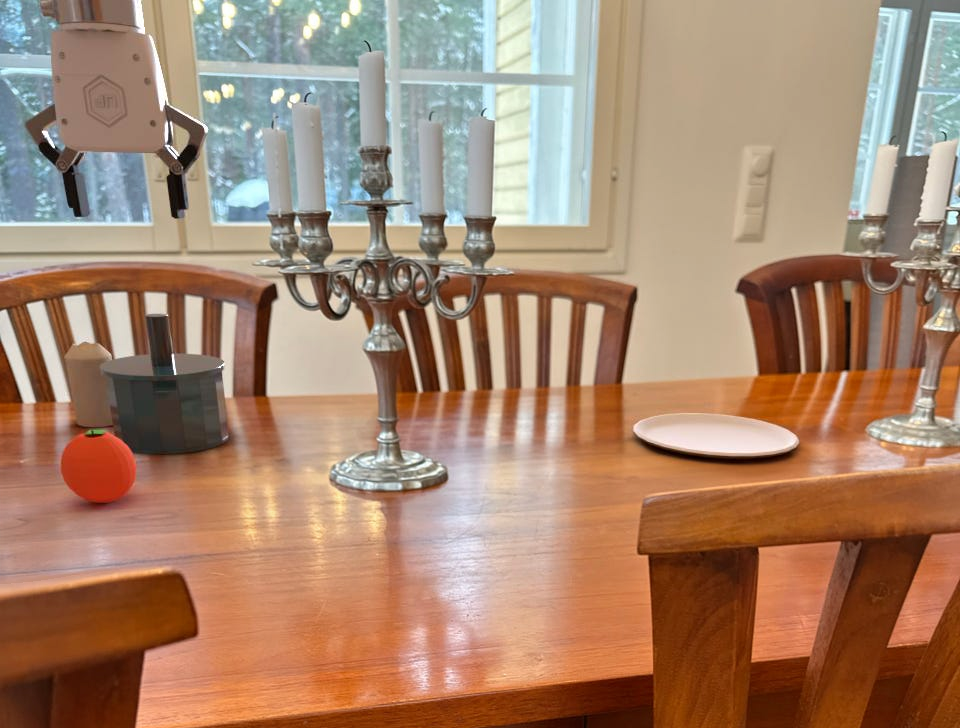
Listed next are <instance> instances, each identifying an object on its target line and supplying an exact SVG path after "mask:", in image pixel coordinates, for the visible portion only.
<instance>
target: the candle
mask: <svg viewBox="0 0 960 728" xmlns="http://www.w3.org/2000/svg"><path fill="white" fill-rule="evenodd" d="M63 357H64V362H65V367H66V372H67V378H68V384H69V389H70V394H71V395H70V396H71V400H72V404H73V410H74V415H75V420H76V424H77V425H78V426H79V427H86V428H102V427H103V428H104V427H111V426H113V423H112V417H111V411H110V405H109V399H108V393H107V387H106V381H105V376H104V375H102V374H101V373H100V369H99V366H100V365H101V364H102V363H104V362H107V361H110V360H113V357H112V353H111V352H109V351H108V350H107V349H106V348H105V347H103V346H102V345H101V344H100V343H99V342H94V343H91V342H88V341H83V342H81V343H78V344H76V343H74V342H73V343H72V344H71V346H70V348H69V349H68V351H67V352H66V353H65V355H64V356H63Z"/></svg>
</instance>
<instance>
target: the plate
mask: <svg viewBox="0 0 960 728" xmlns="http://www.w3.org/2000/svg"><path fill="white" fill-rule="evenodd" d="M632 433H633V434H634V435H635V436H636V438H638V439H639V440H640V441H643V442H644V443H646V444H648V445H650V446H653V447H657V448H660V449H663V450H666V451H668V452H669V451H670V452H674V453H678V454H683V455H688V456H693V457H700V458H708V459H721V460H748V459H761V458H771V457H776V456H781V455H785V454H788V453H790V452H792V451H794V450H796V449H797V448H798V447H799V444H800V440H799V438H798V436H797V435H796V434H795V433H793V432H792V431H790V430H789V429H787V428H786V427H785V428H784V427H783V426H779V425H777V424H774V423H771V422H767V421H764V420H759V419H754V418H749V417H743V416H738V415H737V416H736V415H728V414H720V413H719V414H717V413H704V412H703V413H702V412H699V413H697V412H696V413H695V412H694V413H693V412H692V413H691V412H687V413H686V412H681V413H667V414H660V415H654V416H650V417H647V418H644V419H641V420H639V421H638V422H637V423H635V424H634V425H633V428H632Z"/></svg>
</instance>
